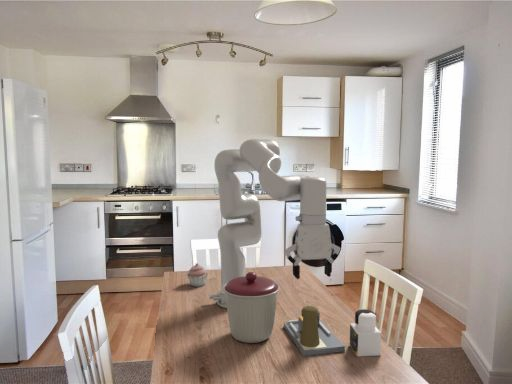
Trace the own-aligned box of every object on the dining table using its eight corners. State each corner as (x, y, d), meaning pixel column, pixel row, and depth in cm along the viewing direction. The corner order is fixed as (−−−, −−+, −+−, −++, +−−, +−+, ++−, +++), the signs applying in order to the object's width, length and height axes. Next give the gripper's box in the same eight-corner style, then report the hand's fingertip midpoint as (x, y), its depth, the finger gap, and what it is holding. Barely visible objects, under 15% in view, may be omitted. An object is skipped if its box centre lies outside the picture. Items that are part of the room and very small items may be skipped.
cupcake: (184, 283, 182) (184, 261, 181) (204, 280, 186) (204, 259, 185) (190, 289, 174) (189, 267, 173) (210, 286, 178) (210, 264, 177)
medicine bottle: (349, 345, 124) (350, 307, 123) (371, 344, 125) (373, 306, 123) (357, 357, 117) (358, 317, 116) (381, 356, 117) (382, 316, 116)
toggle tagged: (302, 336, 126) (302, 321, 125) (298, 331, 129) (298, 316, 129) (311, 335, 126) (311, 320, 126) (307, 330, 130) (307, 315, 130)
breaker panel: (303, 356, 118) (303, 348, 117) (283, 326, 137) (283, 320, 137) (344, 351, 120) (344, 343, 120) (319, 323, 140) (319, 316, 140)
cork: (298, 346, 120) (298, 310, 119) (300, 336, 126) (301, 302, 125) (319, 348, 119) (319, 312, 118) (320, 338, 125) (320, 304, 123)
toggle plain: (310, 327, 133) (310, 312, 132) (306, 322, 136) (306, 307, 136) (319, 326, 133) (319, 311, 133) (315, 321, 137) (315, 306, 137)
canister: (216, 329, 135) (215, 267, 133) (266, 320, 142) (266, 262, 140) (234, 354, 119) (233, 284, 117) (289, 343, 125) (289, 277, 123)
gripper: (288, 223, 113) (288, 282, 114) (345, 220, 116) (344, 278, 118) (280, 218, 120) (280, 274, 122) (335, 216, 124) (334, 270, 125)
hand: (312, 276), depth 120 cm, fingers open, 9 cm apart
